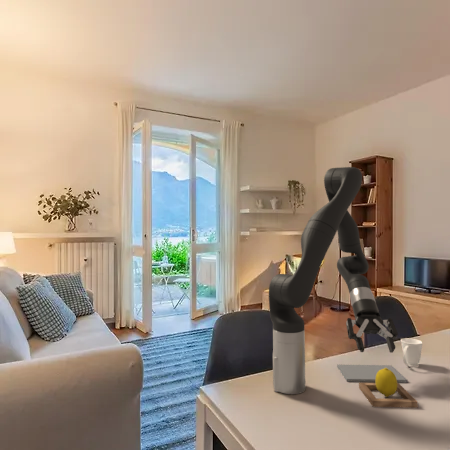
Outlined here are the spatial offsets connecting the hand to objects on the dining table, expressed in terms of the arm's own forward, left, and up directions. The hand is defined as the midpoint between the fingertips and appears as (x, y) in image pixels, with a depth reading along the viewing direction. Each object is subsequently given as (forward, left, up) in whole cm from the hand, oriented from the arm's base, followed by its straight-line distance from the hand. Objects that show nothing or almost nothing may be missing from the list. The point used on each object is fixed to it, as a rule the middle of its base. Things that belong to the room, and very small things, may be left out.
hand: (377, 351), depth 105 cm
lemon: (0, -6, -11) cm, 12 cm away
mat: (+1, +10, -11) cm, 14 cm away
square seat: (0, -6, -11) cm, 12 cm away
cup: (+17, +18, -11) cm, 27 cm away
